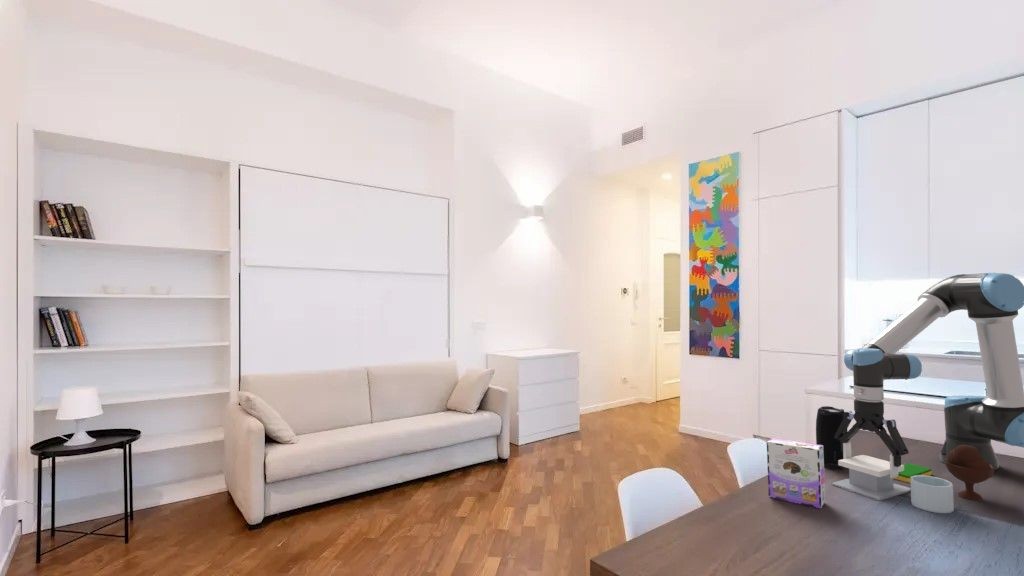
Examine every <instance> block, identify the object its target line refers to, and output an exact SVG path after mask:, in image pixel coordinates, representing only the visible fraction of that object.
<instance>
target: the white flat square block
mask: <svg viewBox="0 0 1024 576" xmlns="http://www.w3.org/2000/svg"><path fill="white" fill-rule="evenodd" d="M838 465H839V466H843V467H844V468H847V469H849V468H850V469H853V470H857V471H860V472H863V473H867V474H870V475H874V476H877V477H882V476H886V475H889V474H890V460H889V461H888V460H885V459H881V458H876V457H873V456H870V455H866V454H859V455H855V456H851V457H850V458H846V459H842V460H838ZM843 467H842V468H843ZM901 471H904V465H902V464H901V466H900V467H898V472H901Z"/></svg>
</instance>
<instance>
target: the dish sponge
mask: <svg viewBox="0 0 1024 576" xmlns="http://www.w3.org/2000/svg"><path fill="white" fill-rule="evenodd" d="M901 465H904V471H901V472H898V477H895V478H893V480H897V481H901V482H905V483H908V484H911V480H910V477H911V476H915V475H925V476H932V475H933V470H932V468H929V467H925V466H923V465H918V464H913V463H908V462H905V463H901Z"/></svg>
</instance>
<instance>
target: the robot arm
mask: <svg viewBox="0 0 1024 576" xmlns="http://www.w3.org/2000/svg"><path fill="white" fill-rule="evenodd" d="M1023 307H1024V284H1023V282H1022V281H1021V280H1020V279H1019V278H1017V277H1015V276H1014V275H1012V274H1010V273H1004V272H1000V273H999V272H984V273H969V274H965V273H963V274H962V273H961V274H956V275H951V276H949V277H946V278H944V279H942V280H941V281H939V282H938V281H937V283H935V284H934V285H932V286H931V287H929V288H928V289H927V290H925V291H924V292H922V294H920V295H919V296H918V297H917V302H916V303H914V304H913V305H912V306H911V307H910V308H908V309H907V310H906V311H905V312H904V313H902V314H901V315H900V316H899V317H898V318H897V319H895V320H893V321H892V322H891V323H890V324H889V325H888V326H887V327H886V328H884V329H883V330H882V331H881V332H879V333H878V334H877V335H876V336H875V337H873V338H872V339H871V340H869V341H868V342H867V343H866V344H865V345H864V346H862V347H860V348H853V349H849V350H847V351H846V353H845V355H844V357H843V362H844V365H845V368H847V369H848V370H849V371H852V377H853V398H854V400H853V410H854V412H853V411H851V410H850V411H844V418H843V420H842V422H841V424H840V426H839V428H838V430H837V432H836V434H835V435H834V438H835V439H838V440H840V442H841V452H843V459H846V458H850V457H852V442H850V440H851V439H852V438H853V437H854V436H855V435H856V434H857V433H858V432H859V431H867V432H868V431H869V432H872V433H875V434H876V436H878V437H879V438H880V439H881V441H882V442H883V443H884V445H886V448H887V449H888V450H889V451H890V453H891V454H889V462H890V477H891V478H895V477H898V467H900V466H901V465H902V456H905V455H909V453H910V452H909V449H908V448H907V446H906V443H905V442H904V440H903V437H902V436H901V434H900V432H899V430H898V428H897V422H896V419H885V417H884V415H885V414H884V413H885V405H884V404H885V403H884V402H883V400H884V399H885V398H884V395H885V394H884V393H885V391H884V381H885V380H886V381H887V380H905V381H907V380H912V379H917V378H918V377H919V376H920V375H921V374H922V371H923V370H922V369H923V368H922V367H923V366H922V362H921V360H920V359H919V358H918V357H917V356H915V355H913V354H905V353H902V354H896V353H898V352H899V351H900V350H901V349H903V347H905V346H906V345H907V344H908V343H909V342H911V341H912V340H913V339H915V338H916V337H917V336H918V335H920V334H921V333H922V332H924V330H925V329H926V328H928V327H929V326H930V325H932V324H933V323H934V322H935V321H937V320H938V319H939V318H944V317H946V316H948V315H949V314H951V313H953V312H955V311H960V310H961V311H963V310H965V311H967V316H968V318H969V320H971V321H973V322H974V323H975V326H976V334H977V339H978V345H979V346H978V347H979V352H980V357H981V365H982V371H983V376H984V383H985V391H986V396H984V395H949V396H947V397H946V398H945V400H944V406H943V412H944V427H945V439H944V442H943V444H942V447H941V449H940V451H939V461H941V462H942V463H943V464H945V463H944V459H947V456H948V454H949V452H950V451H951V450H953V449H955V448H956V447H958V446H960V445H969V446H973V447H974V448H976V449H978V450H979V451H980V453H981V458H982V459H984V460H986V461H987V462H988V463H989V464H991V465H992V466H993V467H994V468H995V471H997V469H998V468H999V469H1000V462H999V460H998V457H997V455H996V452H995V450H994V448H993V445H992V441H995V442H999V443H1003V444H1006V445H1008V446H1011V447H1018V448H1019V447H1020V448H1024V385H1023V384H1024V383H1023V379H1022V371H1021V365H1020V359H1019V354H1018V348H1017V340H1016V334H1015V327H1014V319H1016V317H1018V315H1019V310H1020V309H1022V308H1023ZM853 419H854V421H855V423H854V424H853V425H852V427H851V428H850V429H849V430H848V428H849V426H850V425H851V422H852V420H853ZM885 427H886V428H885ZM886 429H887V430H886ZM846 430H847V433H846V434H845V432H846ZM887 431H888V432H887ZM844 434H845V435H844ZM847 441H848V442H847ZM999 469H998V470H999Z"/></svg>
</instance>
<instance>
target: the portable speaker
mask: <svg viewBox="0 0 1024 576" xmlns="http://www.w3.org/2000/svg"><path fill="white" fill-rule="evenodd" d="M844 412H845V409H843V408H840V409H839V408H836V407H833V406H829V405H826V406H820V407H819V408H817V414H816V420H815V438H816V439H815V443H816V445H823V450H824V466H825V467H826V468H827V469H829V470H842V469H843V466H839V465H838V460H842V459H843V452H841V442H840V440H838V439H835V438H834V435H835V434H836V432H837V430H838V428H839V426H840V424H841V422H842V420H843V418H844ZM847 432H848V429H847V430H846V432H845V434H846V433H847ZM845 434H844V435H845ZM847 442H849V441H847Z"/></svg>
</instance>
